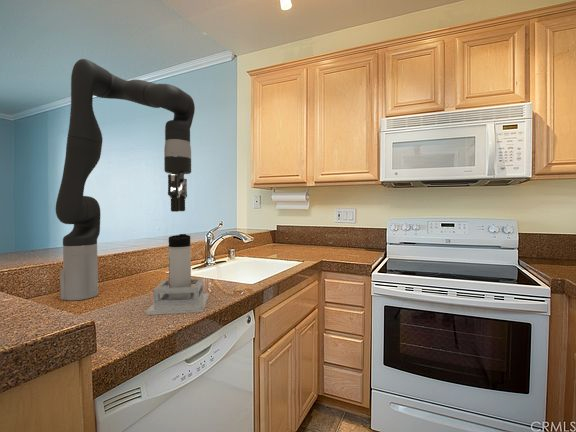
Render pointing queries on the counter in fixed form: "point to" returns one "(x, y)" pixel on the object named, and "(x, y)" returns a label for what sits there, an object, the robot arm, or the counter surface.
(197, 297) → the collar stand
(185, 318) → the counter surface
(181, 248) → the travel mug
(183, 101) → the robot arm
